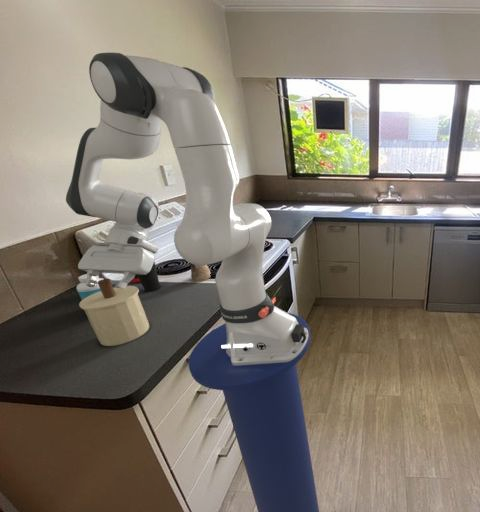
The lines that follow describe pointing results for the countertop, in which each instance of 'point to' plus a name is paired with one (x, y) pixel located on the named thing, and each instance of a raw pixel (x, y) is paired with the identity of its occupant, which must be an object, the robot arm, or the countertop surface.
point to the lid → (108, 296)
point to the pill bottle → (87, 287)
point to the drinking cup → (150, 280)
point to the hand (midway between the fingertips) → (105, 287)
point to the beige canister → (119, 322)
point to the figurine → (199, 272)
